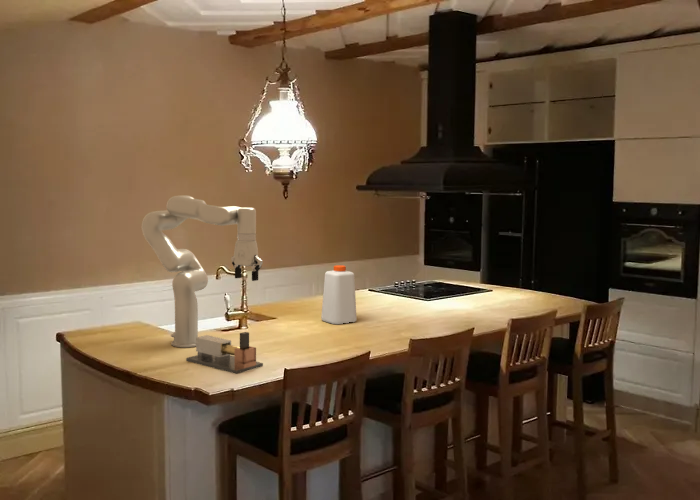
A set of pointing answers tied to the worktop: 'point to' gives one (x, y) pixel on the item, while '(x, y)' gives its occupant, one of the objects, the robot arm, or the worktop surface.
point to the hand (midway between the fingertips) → (246, 279)
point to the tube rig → (223, 355)
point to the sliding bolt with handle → (231, 349)
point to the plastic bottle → (339, 296)
